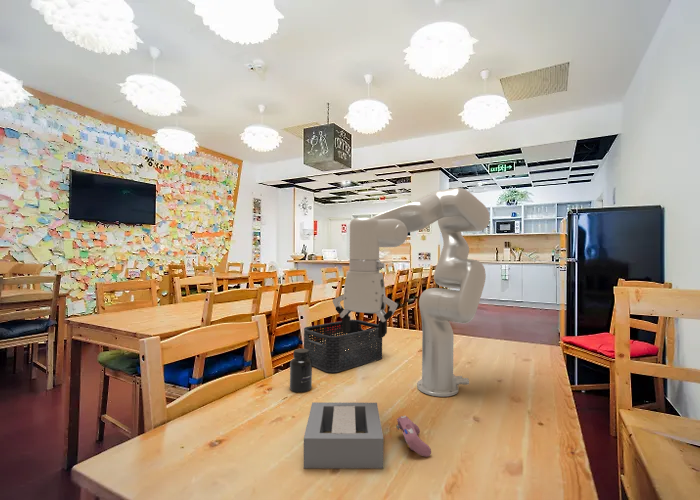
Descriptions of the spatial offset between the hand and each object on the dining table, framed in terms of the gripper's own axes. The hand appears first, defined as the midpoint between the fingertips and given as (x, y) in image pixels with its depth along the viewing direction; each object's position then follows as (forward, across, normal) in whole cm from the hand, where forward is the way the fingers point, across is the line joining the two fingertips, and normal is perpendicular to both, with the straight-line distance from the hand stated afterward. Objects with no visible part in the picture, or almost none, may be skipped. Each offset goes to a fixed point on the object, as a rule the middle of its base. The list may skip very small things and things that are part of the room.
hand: (363, 334), depth 86 cm
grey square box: (+22, 0, +11) cm, 25 cm away
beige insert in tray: (+18, 0, +11) cm, 21 cm away
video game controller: (+23, -14, +4) cm, 27 cm away
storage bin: (+23, +26, -42) cm, 54 cm away
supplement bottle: (+23, +26, -11) cm, 36 cm away
